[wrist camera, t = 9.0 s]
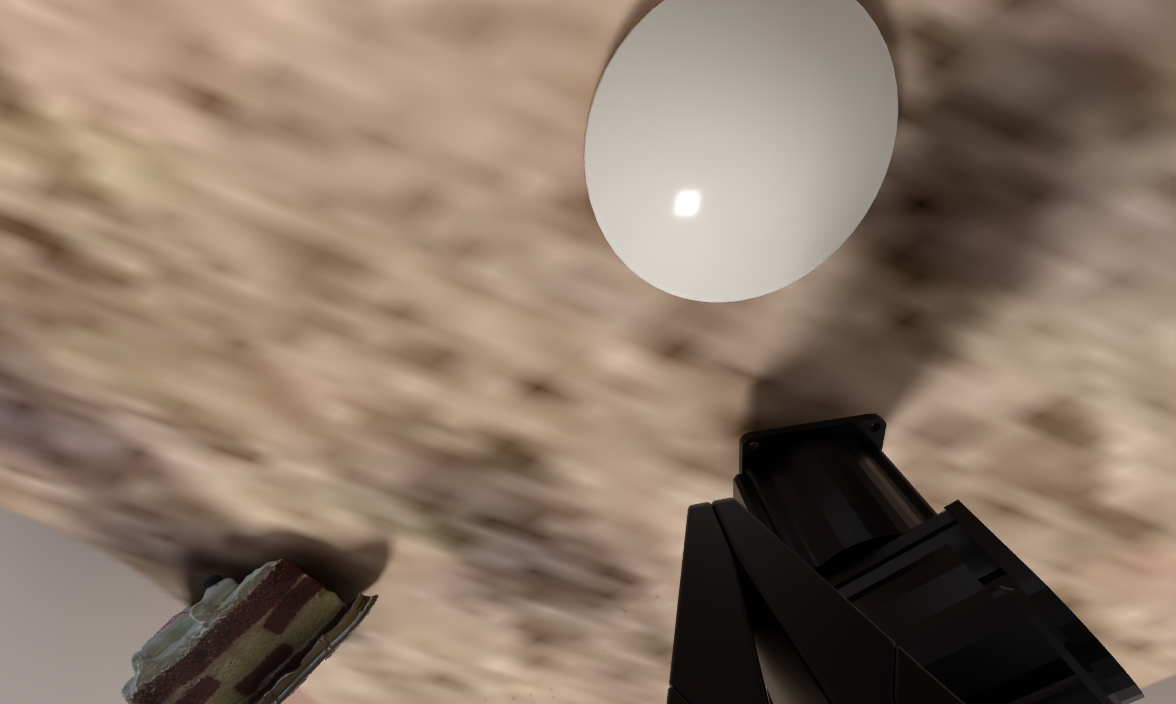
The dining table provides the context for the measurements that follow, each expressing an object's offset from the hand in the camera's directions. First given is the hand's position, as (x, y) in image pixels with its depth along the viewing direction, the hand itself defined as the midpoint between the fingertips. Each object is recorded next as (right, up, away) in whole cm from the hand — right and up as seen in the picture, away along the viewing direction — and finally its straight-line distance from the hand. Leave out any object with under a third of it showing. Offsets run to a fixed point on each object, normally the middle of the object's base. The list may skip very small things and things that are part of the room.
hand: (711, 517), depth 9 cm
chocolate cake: (-17, -8, +20) cm, 28 cm away
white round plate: (+3, +10, +9) cm, 14 cm away
